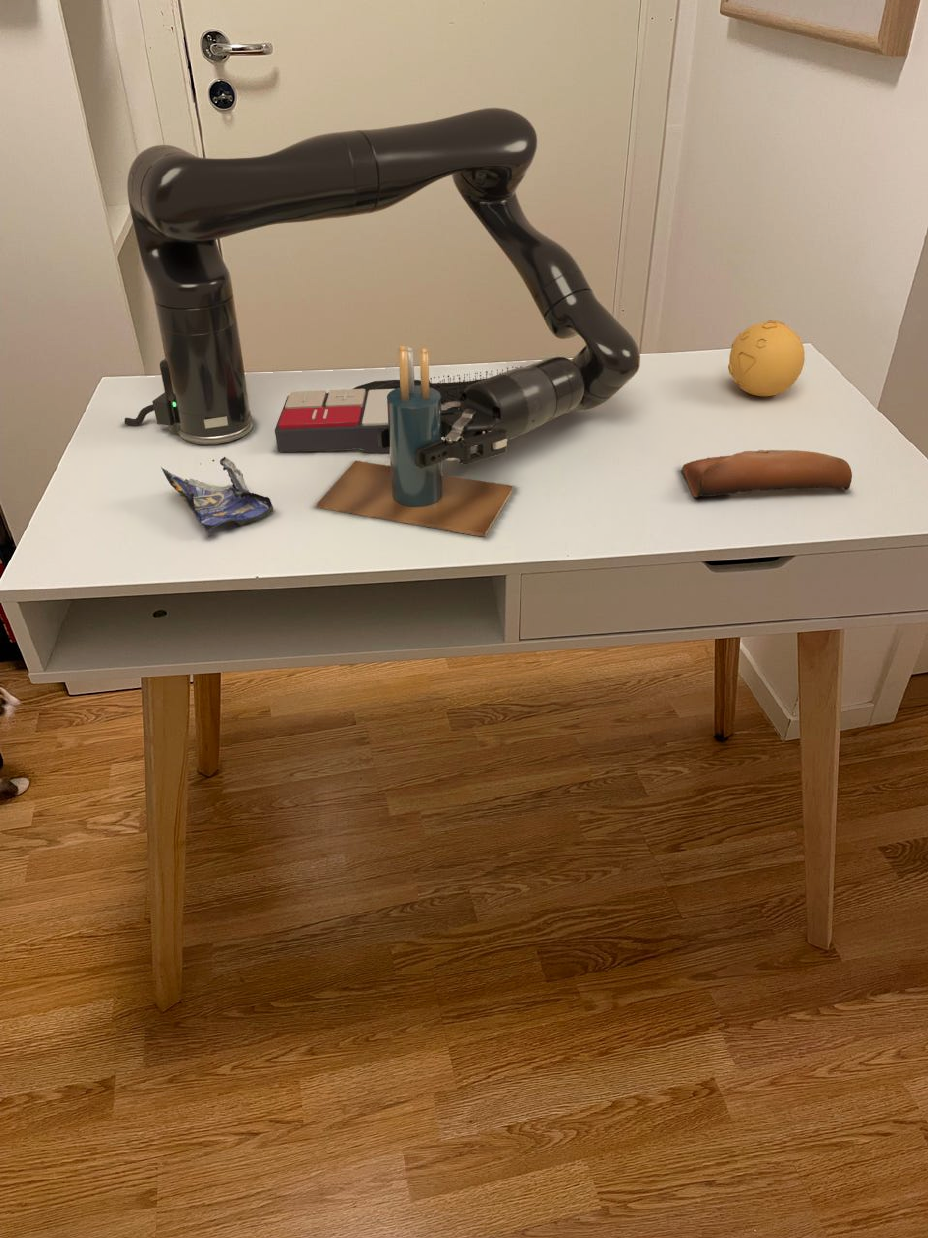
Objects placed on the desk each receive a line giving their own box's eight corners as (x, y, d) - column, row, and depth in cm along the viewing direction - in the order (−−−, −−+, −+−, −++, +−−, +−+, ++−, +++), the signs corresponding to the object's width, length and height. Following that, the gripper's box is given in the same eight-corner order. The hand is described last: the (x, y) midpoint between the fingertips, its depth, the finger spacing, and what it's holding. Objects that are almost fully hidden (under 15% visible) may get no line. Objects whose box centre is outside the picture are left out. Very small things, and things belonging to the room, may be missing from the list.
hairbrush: (346, 367, 134) (526, 358, 134) (349, 392, 136) (526, 383, 136) (340, 392, 128) (529, 382, 127) (344, 417, 130) (530, 408, 129)
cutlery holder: (381, 493, 111) (372, 341, 100) (420, 476, 114) (415, 328, 103) (413, 512, 107) (407, 357, 96) (453, 495, 110) (451, 343, 100)
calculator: (286, 388, 126) (400, 383, 126) (291, 418, 129) (403, 414, 128) (272, 425, 118) (395, 420, 117) (278, 457, 120) (398, 452, 120)
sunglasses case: (820, 457, 118) (843, 426, 112) (834, 507, 115) (858, 478, 109) (677, 464, 116) (692, 433, 110) (687, 516, 114) (703, 487, 107)
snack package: (268, 479, 115) (167, 487, 112) (264, 434, 110) (158, 441, 108) (277, 546, 107) (168, 556, 104) (273, 501, 102) (159, 510, 100)
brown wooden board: (316, 507, 109) (316, 503, 109) (355, 463, 117) (355, 460, 117) (485, 537, 104) (485, 533, 104) (513, 489, 112) (513, 485, 112)
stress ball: (790, 380, 138) (805, 311, 132) (801, 410, 130) (818, 337, 124) (719, 377, 139) (731, 308, 133) (726, 406, 131) (739, 334, 125)
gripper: (550, 454, 112) (440, 503, 103) (468, 414, 121) (360, 456, 112) (554, 394, 108) (439, 440, 99) (468, 357, 116) (355, 396, 107)
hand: (398, 448), depth 105 cm, fingers closed on cutlery holder, 6 cm apart
